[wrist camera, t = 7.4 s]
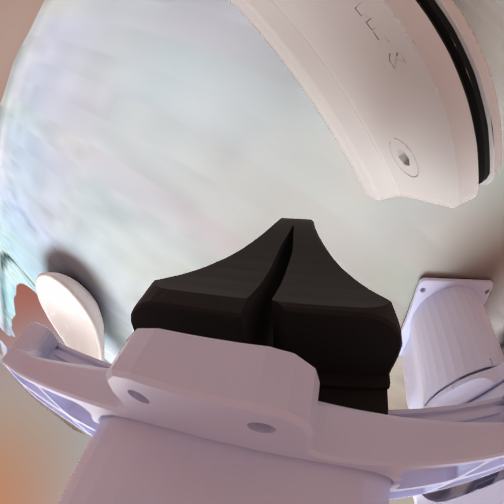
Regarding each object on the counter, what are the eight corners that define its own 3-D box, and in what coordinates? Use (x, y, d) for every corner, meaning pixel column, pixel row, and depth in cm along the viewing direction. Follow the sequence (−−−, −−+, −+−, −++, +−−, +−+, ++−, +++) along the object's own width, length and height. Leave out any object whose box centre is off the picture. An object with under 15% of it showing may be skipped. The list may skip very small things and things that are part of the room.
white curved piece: (223, -7, 12) (218, -111, 2) (284, -32, 11) (323, -125, 2) (369, 200, 17) (474, 262, 8) (418, 166, 17) (531, 201, 7)
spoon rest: (39, 267, 32) (8, 298, 26) (77, 249, 27) (36, 289, 21) (129, 377, 42) (111, 409, 36) (180, 382, 38) (162, 422, 32)
